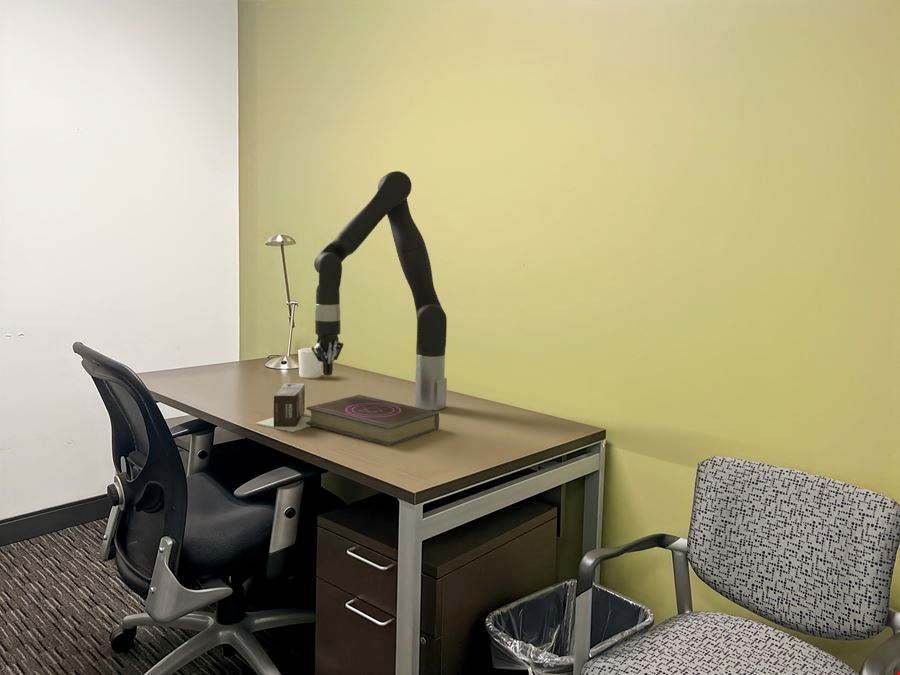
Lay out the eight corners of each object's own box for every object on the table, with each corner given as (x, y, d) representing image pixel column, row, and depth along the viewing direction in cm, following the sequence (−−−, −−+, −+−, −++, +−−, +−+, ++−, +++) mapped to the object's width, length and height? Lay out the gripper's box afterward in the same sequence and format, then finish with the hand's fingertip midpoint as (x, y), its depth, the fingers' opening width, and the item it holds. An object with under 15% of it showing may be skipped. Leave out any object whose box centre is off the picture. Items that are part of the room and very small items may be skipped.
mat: (329, 419, 204) (329, 418, 204) (292, 432, 190) (293, 430, 190) (293, 412, 210) (293, 411, 210) (255, 424, 196) (255, 422, 196)
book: (306, 424, 197) (306, 407, 196) (359, 410, 215) (360, 394, 214) (388, 446, 179) (389, 427, 179) (439, 428, 197) (439, 411, 197)
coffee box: (305, 412, 209) (296, 428, 193) (284, 412, 209) (273, 427, 193) (305, 382, 208) (296, 396, 192) (283, 382, 207) (272, 395, 192)
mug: (293, 376, 264) (293, 350, 263) (310, 373, 271) (310, 347, 270) (313, 380, 258) (313, 353, 256) (330, 377, 265) (330, 350, 264)
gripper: (323, 321, 202) (323, 380, 204) (351, 317, 213) (350, 373, 216) (303, 319, 205) (304, 377, 208) (331, 316, 217) (331, 370, 219)
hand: (327, 374), depth 212 cm, fingers closed
